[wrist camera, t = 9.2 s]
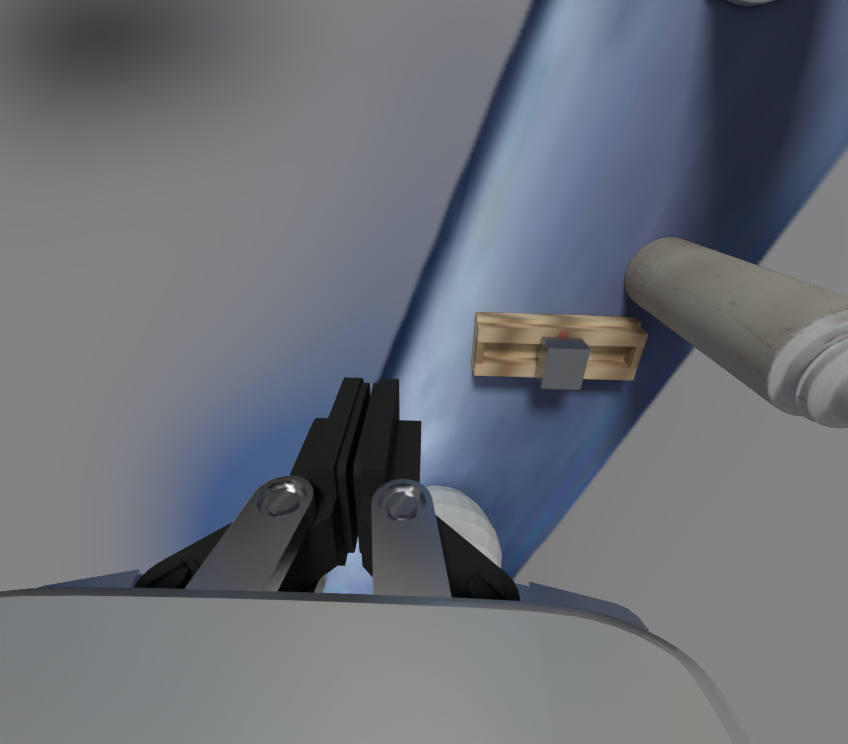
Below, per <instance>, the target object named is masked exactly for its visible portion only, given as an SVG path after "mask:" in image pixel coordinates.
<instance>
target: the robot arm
mask: <svg viewBox="0 0 848 744" xmlns="http://www.w3.org/2000/svg"><path fill="white" fill-rule="evenodd" d="M727 1H729V2H732V3H735V4H737V5H747V6H754V5H761V4H767V3H769V2H772V1H775V0H727ZM420 455H421V421H404V420H399V379H381V380H380V383H374V385H373V389H372V393H371V397H370V385H369V383H363V378H344V380H343V382H342V384H341V387H340V389H339V392H338V394H337V397H336V400H335V402H334V405H333V407H332V410H331V412H330V415H329V418H316V419H315V420H314V422H313V423H312V426H311V428H310V430H309V432H308V435H307V437H306V439H305V441H304V444H303V446H302V448H301V451H300V453H299V455H298V458H297V460H296V462H295V464H294V466H293V469H292V471H291V473H290V476H282V477H278V478H275V479H272V480H270V481H268V482H266V483H265V484H263V485H261V486H260V487H259V488H258V489H257V490H256V491H255V492H254V493H253V495H252V496H251V498H250V499H249V500H248V502H247V503H246V505H245V506H244V507H243V509H242V510H241V512H240V513H239V514H238V516H237V517H236V518H235V520H234V521H233V522H232V523H230V524H228V525H226V526H225V527H223V528H221V529H219V530H217V531H215V532H214V533H212V534H210V535H208V536H206V537H205V538H203V539H201V540H199V541H197V542H195V543H194V544H192V545H190V546H188V547H186V548H184V549H183V550H181V551H179V552H177V553H175V554H174V555H172V556H170V557H168V558H166V559H164V560H163V561H161V562H159V563H158V564H156V565H155V566H153V567H152V568H150V569H149V570H148V571H147V572H146V573H145V574H141V573H140V571H139V570H132V571H127V572H121V573H115V574H109V575H103V576H98V577H92V578H86V579H80V580H74V581H69V582H63V583H57V584H51V585H45V586H42V587H39V588H29V589H19V590H10V591H0V744H756V743H755V742H754V740H753V738H752V737H751V735H750V734H749V732H748V730H747V729H746V727H745V726H744V724H743V722H742V721H741V720H740V718H739V716H738V715H737V713H736V712H735V710H734V709H733V707H732V706H731V704H730V703H729V701H728V700H727V699H726V697H725V696H724V695H723V693H722V692H721V691H720V689H719V688H718V687H717V685H716V684H715V683H714V681H713V680H712V679H711V678H710V677H709V676H708V675H707V673H706V672H705V671H704V670H703V669H702V668H701V667H700V666H699V665H698V664H697V663H696V662H695V661H694V660H692V659H691V658H690V657H689V656H688V655H686V654H685V653H684V652H682V651H681V650H679V649H678V648H677V647H675V646H674V645H672V644H670V643H669V642H667V641H665V640H664V639H662V638H660V637H658V636H656V635H654V634H652V633H651V632H649V631H648V629H647V627H646V626H645V625H644V623H643V622H642V621H641V620H640V618H639V617H638V616H636V615H635V614H634V613H632V612H631V611H630V610H628V609H627V608H625V607H623V606H620V605H618V604H615V603H612V602H608V601H604V600H599V599H596V598H592V597H587V596H584V595H580V594H576V593H572V592H568V591H564V590H560V589H556V588H552V587H548V586H544V585H541V584H537V583H533V582H529V584H528V586H525V585H521V584H517V583H514V581H513V580H512V579H511V578H510V577H509V575H508V574H507V573H506V572H505V571H503V570H502V569H501V568H500V567H498V566H497V565H496V564H495V563H494V562H492V561H491V560H490V559H489V558H488V557H486V556H485V555H484V554H483V553H482V552H480V551H479V550H478V549H477V548H476V547H474V546H473V545H472V544H471V543H469V542H468V541H467V540H466V539H465V538H463V537H462V536H461V535H460V534H459V533H457V532H456V531H455V530H454V529H453V528H451V527H450V526H449V525H448V524H447V523H445V522H444V521H443V520H442V519H440V518H439V517H438V516H437V515H436V514H435V509H434V504H433V499H432V496H431V494H430V491H429V490H428V489H427V488H426V487H425V486H424V485H422V484H421V483H419V482H420ZM357 538H359V549H360V553H362V564H363V567H364V568H365V569H366V571H367V572H368V573H369V574H370V575H371V576H372V577H373V595H368V594H338V593H322V592H323V590H324V587H325V584H326V579H327V576H326V574H327V573H328V572H329V571H331V570H332V569H334V568H335V567H336V566H338V565H340V566H345V563H346V559H347V554H348V553H354V552H355V548H356V544H357Z"/></svg>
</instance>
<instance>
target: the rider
mask: <svg viewBox="0 0 848 744" xmlns="http://www.w3.org/2000/svg"><path fill="white" fill-rule="evenodd" d="M590 350H591V349H590V348H589V347H588V345H587V344H586V343H585V342H584V340H583V339H582V338H573V337H542V339H541V344H538V348H537V354H536V357H537V359H538V360H537V366H536V371H535V377H536V379H537V381H538V384H539V386H540V388H541V389H567V390H580V389H581V385H582V382H583V378H584V374H585V370H586V366H587V362H588V358H589V354H590Z"/></svg>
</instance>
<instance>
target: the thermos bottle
mask: <svg viewBox="0 0 848 744" xmlns="http://www.w3.org/2000/svg"><path fill="white" fill-rule="evenodd" d="M625 288H626V292H627V294H628V295H629V297H630V298H631V299H632V300H633V301H634V302H635V303H636V304H638V305H639V306H640V307H642V308H643V309H644V310H646V311H647V312H649V313H650V314H652V315H653V316H654V317H655V318H657V319H658V320H659V321H661V322H662V323H663V324H665V325H666V326H667V327H669V328H670V329H671V330H673V331H674V332H675V333H677V334H678V335H680V336H681V337H682V338H684V339H685V340H686V341H688V342H689V343H690V344H692V345H693V346H694V347H696V348H697V349H698V350H700V351H701V352H702V353H704V354H705V355H707V356H708V357H709V358H710V359H712V360H713V361H714V362H716V363H717V364H718V365H720V366H721V367H723V368H724V369H725V370H727V371H728V372H729V373H730V374H732V375H733V376H735V377H736V378H737V379H739V380H740V381H741V382H743V383H744V384H745V385H747V386H748V387H749V388H751V389H752V390H753V391H755V392H756V393H757V394H759V395H760V396H761V397H763V398H764V399H765V400H767V401H768V402H769V403H771V404H772V405H774V406H775V407H776V408H778V409H780V410H781V411H783V412H785V413H788V414H792V415H796V416H804V417H805V418H807V419H809V420H811V421H814V422H818V423H819V424H821V425H824V426H827V427H832V428H848V297H846V296H843V295H840V294H838V293H835V292H832V291H829V290H826V289H823V288H821V287H817V286H815V285H812V284H809V283H806V282H803V281H800V280H798V279H795V278H792V277H789V276H786V275H784V274H781V273H778V272H775V271H772V270H769V269H766V268H764V267H761V266H758V265H755V264H752V263H749V262H746V261H744V260H741V259H738V258H735V257H732V256H729V255H726V254H723V253H721V252H718V251H715V250H712V249H709V248H707V247H704V246H701V245H698V244H695V243H692V242H689V241H687V240H684V239H681V238H675V237H668V238H662V239H658V240H656V241H654V242H651V243H649V244H648V245H646V246H645V247H643V248H642V249H641V250H640V251H639V252H638V253H637V254H636V255H635V256H634V258H633V259H632V260H631V262H630V264H629V266H628V268H627V271H626V274H625Z"/></svg>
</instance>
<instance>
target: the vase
mask: <svg viewBox="0 0 848 744" xmlns="http://www.w3.org/2000/svg"><path fill="white" fill-rule="evenodd" d="M426 488H427V489H428V490H429V491H430V494H431V496H432V499H433V504H434V509H435V514H436V515H437V516H438V517H439V518H440V519H442V520H443V521H444V522H445V523H447V524H448V525H449V526H450V527H451V528H453V529H454V530H455V531H456V532H457V533H459V534H460V535H461V536H462V537H463V538H465V539H466V540H467V541H468V542H469V543H471V544H472V545H473V546H474V547H476V548H477V549H478V550H479V551H480V552H482V553H483V554H484V555H485V556H486V557H488V558H489V559H490V560H491V561H492V562H494V563H495V564H496V565H497V566H498V567H500V568H501V558H502V554H501V549H500V544H499V540H498V537H497V534H496V532H495V530H494V528H493V526H492V525H491V523H490V521H489V520H488V518H487V516H486V515H485V513H484V512H483V510H482V509H481V508H480V507H479V506H478V504H477V503H475V502H474V501H473V500H472V499H471V498H469V497H468V496H467V495H465V494H464V493H462V492H461V491H458V490H456V489H453V488H451V487H446V486H440V485H432V486H426Z"/></svg>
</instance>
